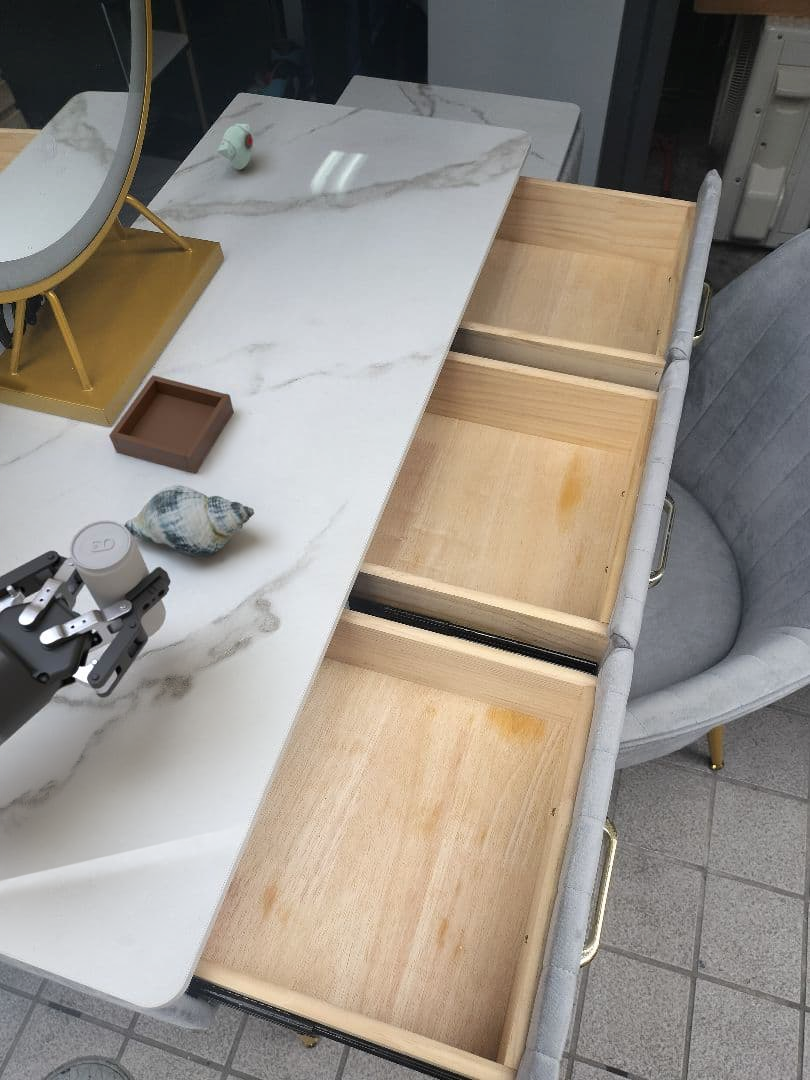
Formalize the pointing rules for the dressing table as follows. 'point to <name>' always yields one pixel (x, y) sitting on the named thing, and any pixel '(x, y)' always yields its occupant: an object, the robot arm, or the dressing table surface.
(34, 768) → the dressing table surface
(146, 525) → the seashell
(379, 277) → the dressing table surface
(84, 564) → the beverage can
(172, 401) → the tray
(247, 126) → the robot head
